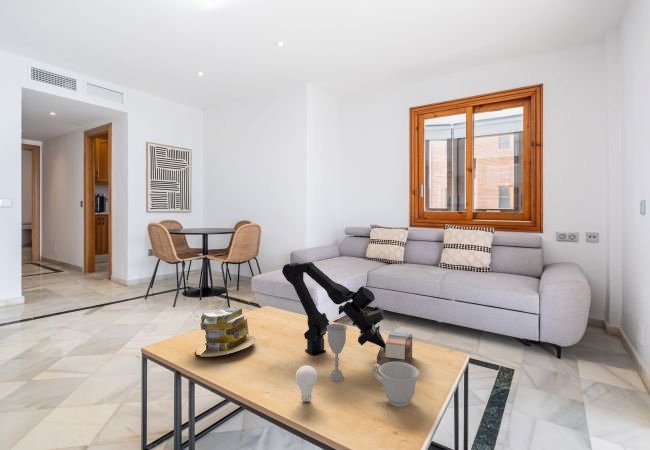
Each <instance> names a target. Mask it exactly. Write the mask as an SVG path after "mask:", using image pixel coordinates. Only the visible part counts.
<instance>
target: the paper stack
mask: <svg viewBox="0 0 650 450" xmlns="http://www.w3.org/2000/svg"><path fill="white" fill-rule="evenodd" d="M200 320H201V322H200V330H201V331H204V332H205V335H204V337H205V344H204V345H206V350H205V351H204V352H203V353H202V354H201V355H200V356H199V357H204V358H205V357H206V358H207V357H219V356H224V355H229V354H230V353H231V354H233V353H235V352H238V351H241V350H244V349H247V348H249V347H250V346H252V345H253V344H255V343H256V341H257V337H256V336H253V335H249V325H248V318H245V316H244V315H243V308H242V307H230V308H229V307H226V308H221V309H217V310H215V311H213V312H204V313H202V315H201V317H200Z"/></svg>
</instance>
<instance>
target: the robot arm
mask: <svg viewBox="0 0 650 450" xmlns="http://www.w3.org/2000/svg"><path fill="white" fill-rule="evenodd" d="M281 272H282V276H283V277H284V278H285V279H286V281H287V282H288V283H289V284H291V286H293V289H294V290H295V292H296V294H297V297H298V300H299V302H300V303H301V305H302V307H303V310H304V311H305V313H306V316H307V327H308V330H306V331H305V332H304V333H303V336H304V339H305V340H307V341H306V345H307V346H306V349H304V351H305V353H308V354H309V355H312V356H318V355H321V354H323V353H326V352H327V349H325V338H324V336H326V333H328V330H327V328H326V326H327V325H330V320H329V319H328V317H327V314H326V313H325V312H323V313H322V312H320V311H319V310H318V308H317V306H316V304H315V302H314V299H313V297H312V294H311V293H310V291H309V289H308V287H307V285H306V283H305V281H304V280H305V279H304V273H305V274H306V275H308V276H309V277H310V278H311V279H312V280H313V281H314V282H315V283H316V284H318V285H319V286H320V287H321V288H322V289H324V291H326V293H327V296H328V298H329V299H330V300H331V301H332V302H333V304H334V305H340V306H338V315H342V313H344V314H345V315H346V316H347V318H349V320H350V321H351V322H352V326H353V327H355V326H356V327H357V329H358V330H359V336H358V337H357V343H358V344H359V345H361V346H363V345H364V344H366V343H367V342H368V343H371V344H374V345H376V346H379V347H380V348H381V347H383V348H385V347H386V342H385V340H384V338H383V336H382V334H381V331H380V328H381V325H377V324H378V323H381V321H383V320H384V318H385V314H384V310H383V309H382V308H380V307H379V306H378V305H377V306H375V307H373V308H372V309H373V311H371V312H368V311H366V310H365V309H366V308H367V307H368V306H369V305H370V304H372V302H374V301H375V299H376V298H375V294H374V293H373V291H372V290H370V289H368V288H366V287H365V286H364V285H362V286H360V287H359V288H358V290H357V291H356V292H355V291H354V290H353V291H352V290H350V289H349V288H348V287H346V286H345V285H344V284H343V285H342V284H341V283H338V282H336V281H333V279H331V278H330V277H329V276H328V275H327V274H325V273H324V272H323V271H322V270H321V269H320V268H318V266H316V265H315V263H314V262H312V261H307V262H303V263H300V262H290V263H286V264H285V265H283V266H282V270H281ZM351 300H352V301H351ZM341 304H343V305H341ZM364 310H365V311H364ZM376 325H377V326H376Z"/></svg>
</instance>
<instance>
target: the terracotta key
mask: <svg viewBox="0 0 650 450" xmlns="http://www.w3.org/2000/svg"><path fill="white" fill-rule="evenodd" d="M385 344H386V353H385V357H389V358H397V359H405V356H406V341H405V340H399V339H390V338H387V339H386V342H385Z"/></svg>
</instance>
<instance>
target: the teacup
mask: <svg viewBox="0 0 650 450" xmlns="http://www.w3.org/2000/svg"><path fill="white" fill-rule="evenodd" d="M376 368H377V369H378V372H379V373H380V375H381V376H380V375H379V374H378V373H377V372H376ZM371 372H372V375H373V376H374V378H375V379H377V380H378V381H379V382H380V383H381V384H382V389H383V393H384V395H385V397H386V398H387V399H388V402H389V404H391V405H392V406H394V407H397V408H405V407H406V406H408V404H409V402H410V401H411V400H412V399H413V397H414V395H415V391H416V383H417V378H418V377H419V376H420V371H419V369H418V367H417V368H416V366H414V365H412V363H411V364H408V363H404V362H387V363H384V364H382V365H381V366H380V365H379V364H377V363H375V364H373V365H372V367H371Z"/></svg>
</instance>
